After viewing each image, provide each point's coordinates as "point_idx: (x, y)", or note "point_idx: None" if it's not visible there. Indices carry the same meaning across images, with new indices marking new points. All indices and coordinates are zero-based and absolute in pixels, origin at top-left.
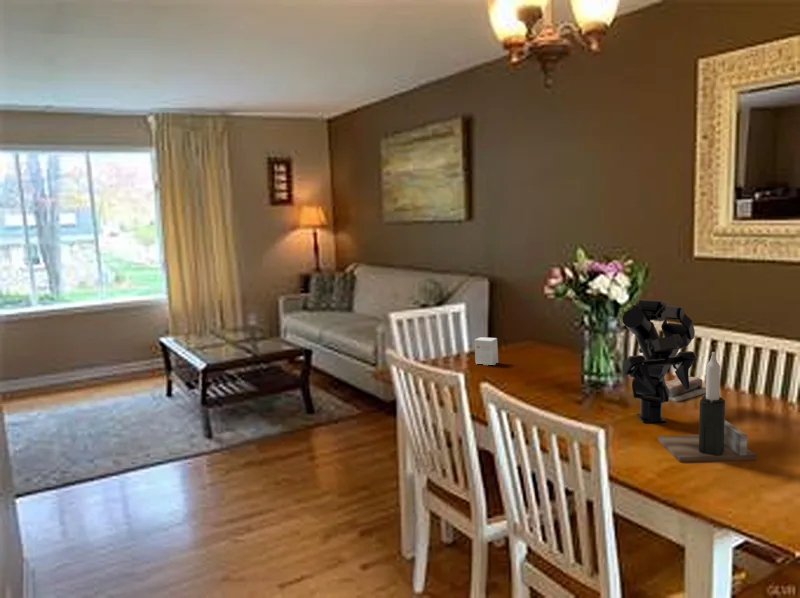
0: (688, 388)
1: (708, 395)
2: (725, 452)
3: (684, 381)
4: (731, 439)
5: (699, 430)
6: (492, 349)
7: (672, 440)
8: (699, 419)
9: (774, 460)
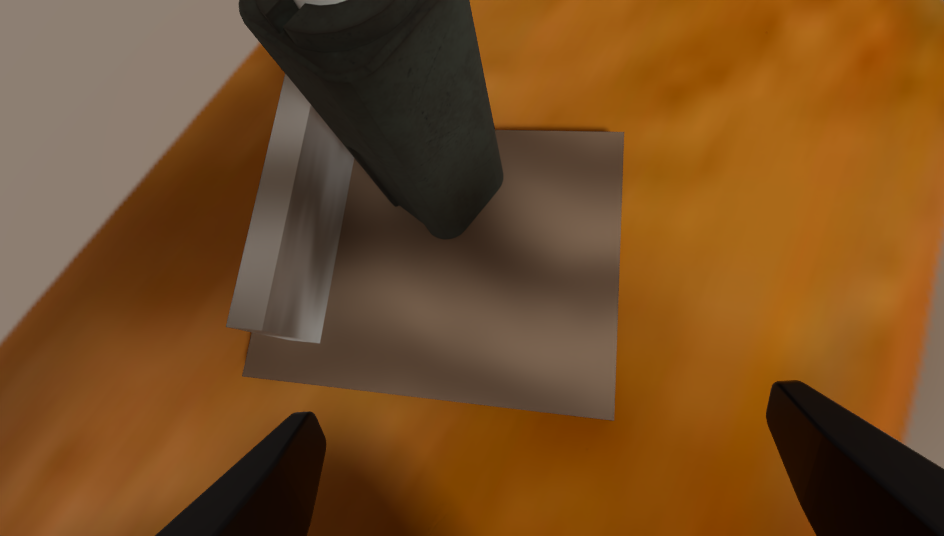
0: (307, 412)
1: None
2: None
3: (268, 516)
4: (327, 176)
5: (491, 121)
6: None
7: (561, 334)
8: (480, 86)
9: (249, 127)
